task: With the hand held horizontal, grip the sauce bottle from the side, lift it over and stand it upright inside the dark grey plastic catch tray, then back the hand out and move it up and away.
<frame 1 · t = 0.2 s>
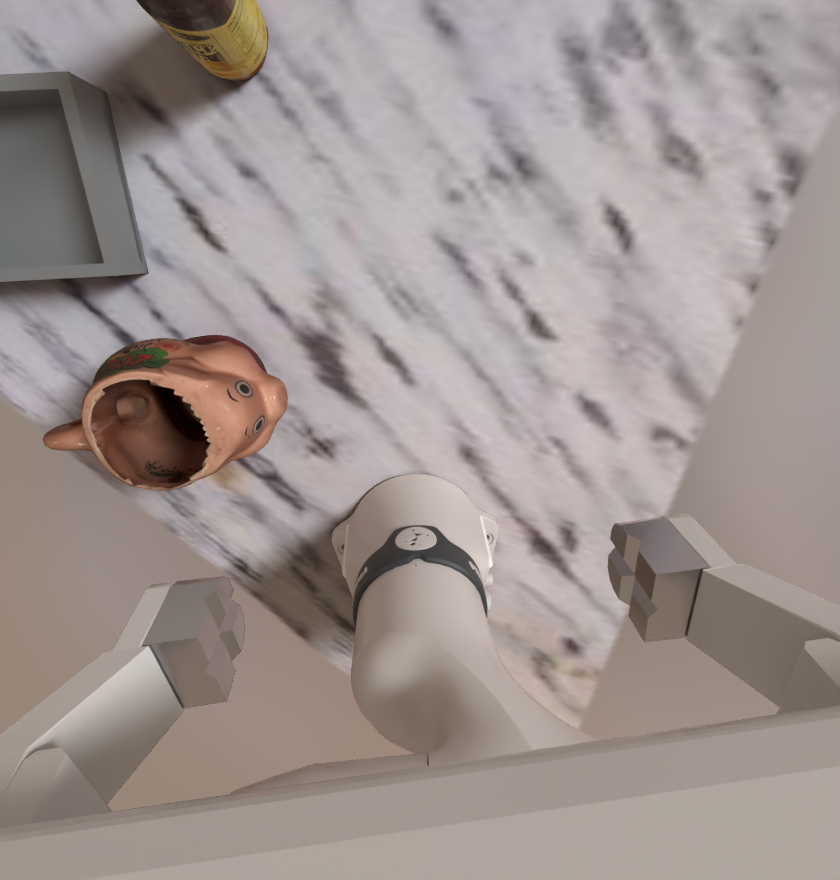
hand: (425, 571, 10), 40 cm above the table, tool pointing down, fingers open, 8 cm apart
catch tray: (46, 192, 43), on the table
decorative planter: (206, 386, 50), on the table
sauce bottle: (235, 43, 40), on the table
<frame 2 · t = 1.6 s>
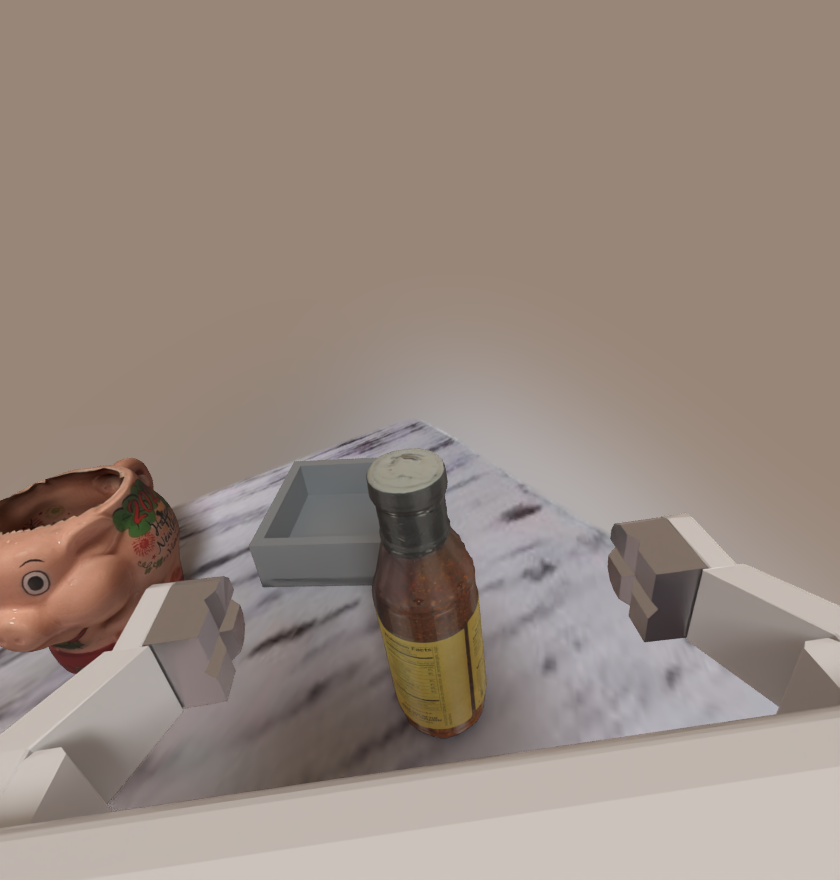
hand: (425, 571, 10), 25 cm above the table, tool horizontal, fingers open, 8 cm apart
catch tray: (350, 535, 51), on the table
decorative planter: (136, 616, 45), on the table
sauce bottle: (441, 702, 35), on the table
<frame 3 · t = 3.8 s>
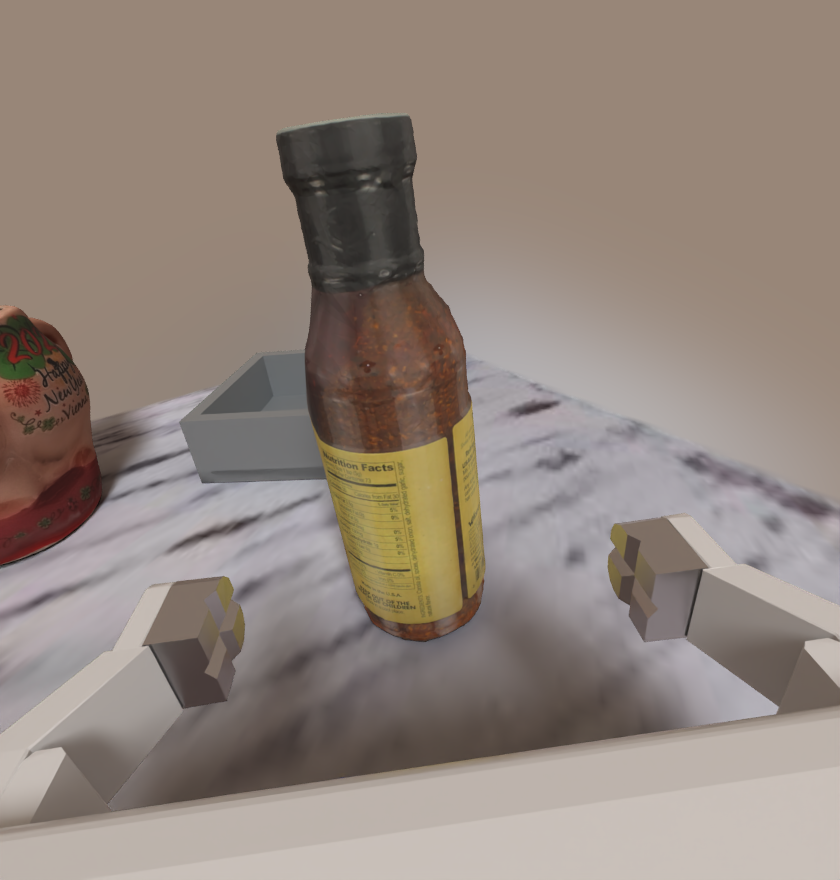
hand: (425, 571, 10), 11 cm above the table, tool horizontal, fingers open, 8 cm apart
catch tray: (320, 432, 41), on the table
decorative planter: (36, 514, 35), on the table
sauce bottle: (420, 601, 24), on the table
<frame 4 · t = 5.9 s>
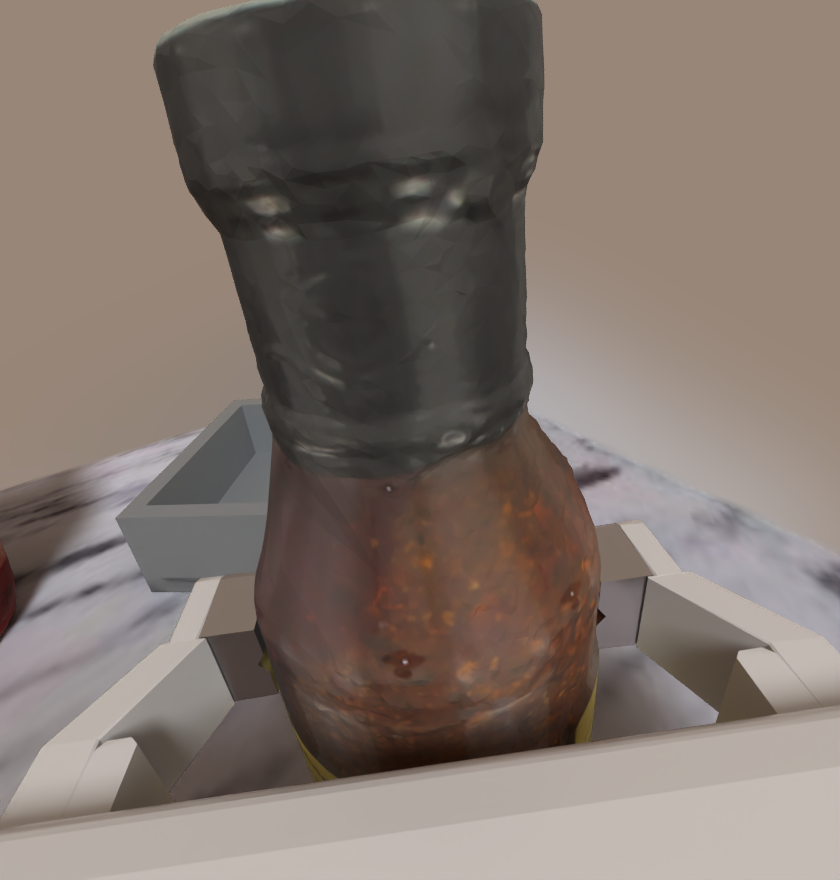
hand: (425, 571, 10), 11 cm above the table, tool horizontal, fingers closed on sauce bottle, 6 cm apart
catch tray: (312, 509, 32), on the table
sauce bottle: (463, 865, 15), on the table, touching gripper
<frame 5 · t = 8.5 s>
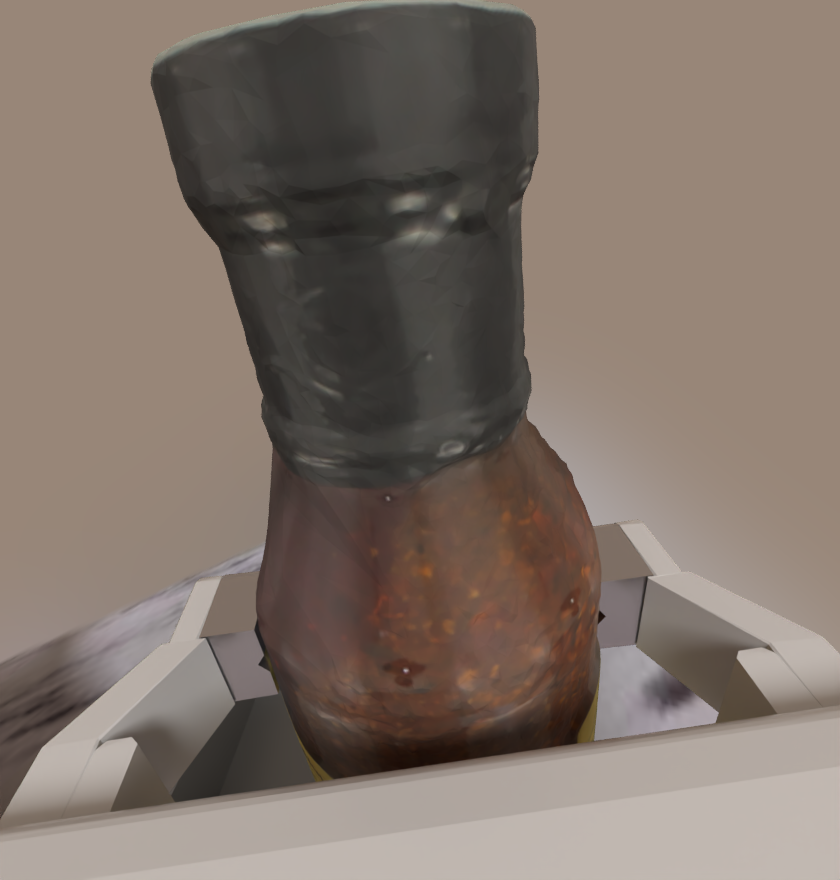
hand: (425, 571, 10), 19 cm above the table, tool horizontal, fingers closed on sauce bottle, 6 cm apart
catch tray: (357, 730, 27), on the table
sauce bottle: (468, 868, 15), point 8 cm above the table, touching gripper
when the fingers open (13 cm above the table, at t = 11.2 s): sauce bottle drops 1 cm, resting on catch tray.
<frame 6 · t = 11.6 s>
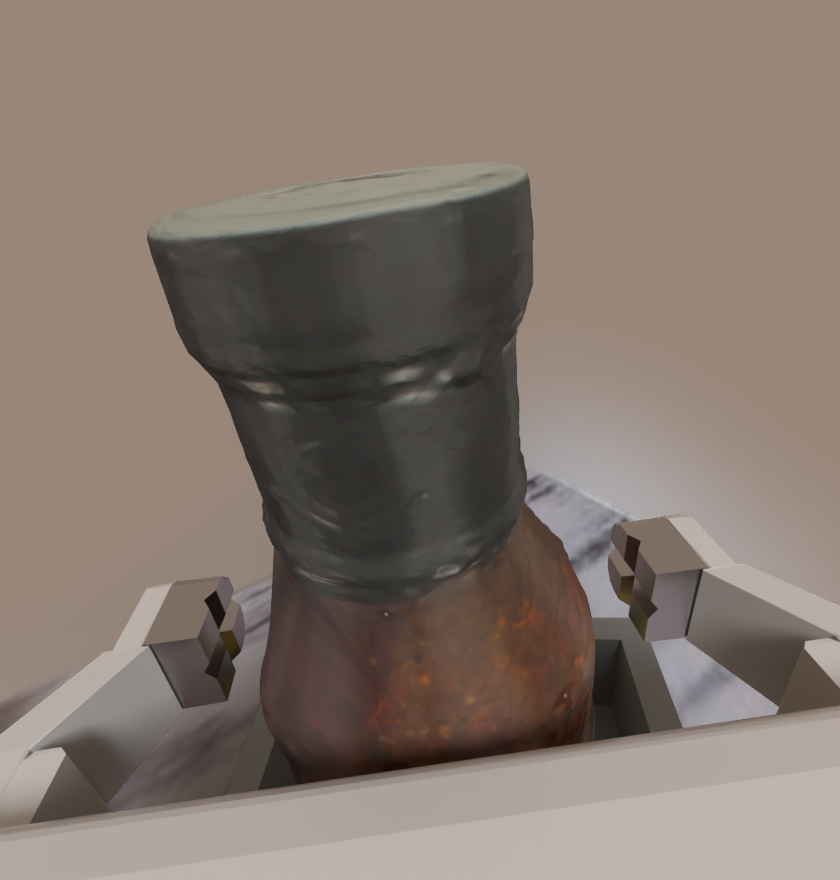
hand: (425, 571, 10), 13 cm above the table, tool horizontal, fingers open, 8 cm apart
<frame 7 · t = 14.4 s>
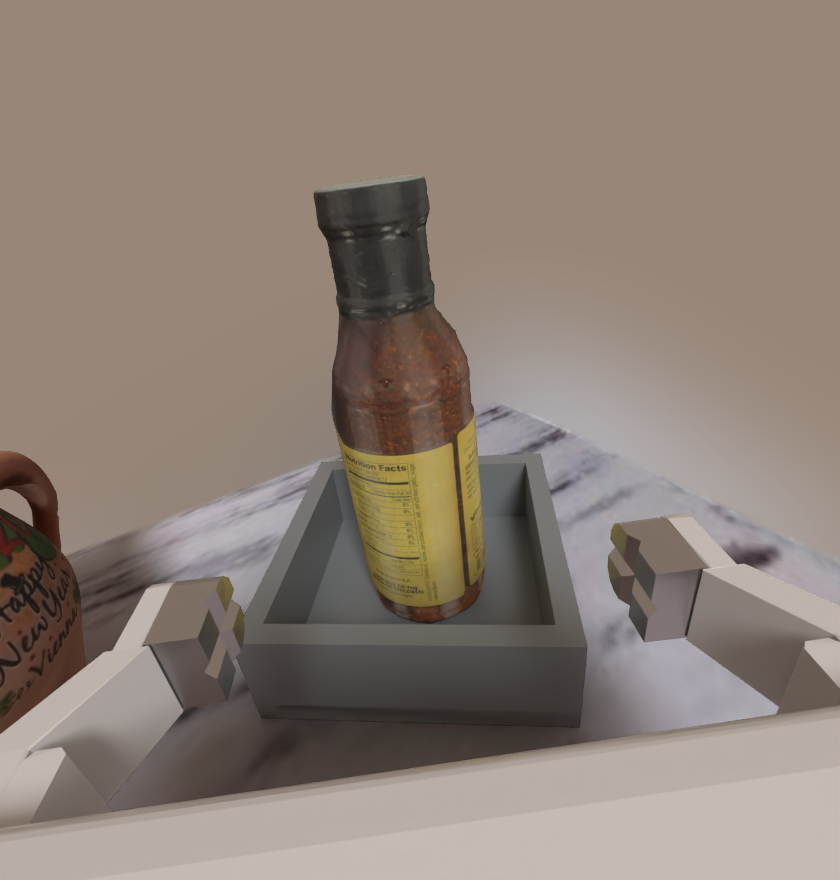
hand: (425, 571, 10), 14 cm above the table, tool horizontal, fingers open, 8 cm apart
catch tray: (426, 599, 28), on the table
sauce bottle: (427, 589, 27), point 1 cm above the table, touching catch tray
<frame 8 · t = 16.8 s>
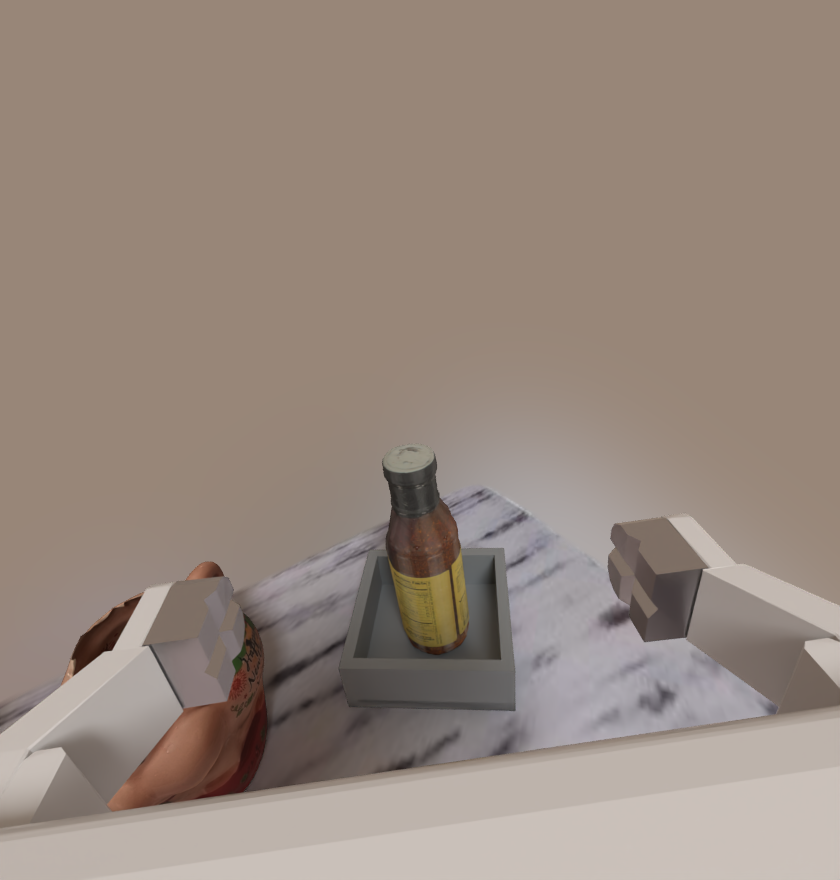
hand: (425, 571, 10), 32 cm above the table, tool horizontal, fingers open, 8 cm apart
catch tray: (435, 638, 47), on the table
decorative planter: (212, 739, 41), on the table
sauce bottle: (436, 633, 47), point 1 cm above the table, touching catch tray
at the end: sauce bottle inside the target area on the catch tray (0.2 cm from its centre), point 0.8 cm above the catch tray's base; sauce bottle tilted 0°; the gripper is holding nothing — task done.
